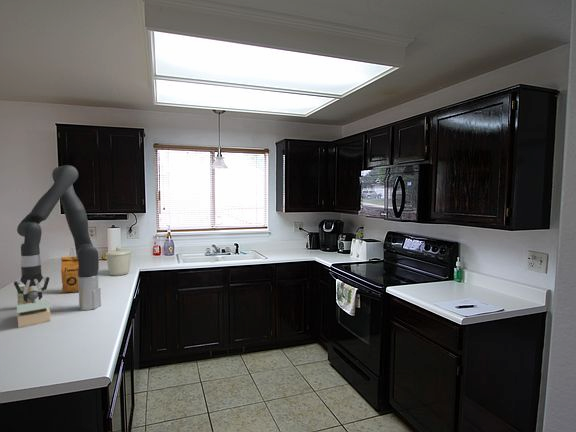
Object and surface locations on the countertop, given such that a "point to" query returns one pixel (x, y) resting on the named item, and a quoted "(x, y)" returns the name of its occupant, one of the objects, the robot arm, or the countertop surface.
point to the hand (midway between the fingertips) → (33, 300)
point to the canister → (118, 261)
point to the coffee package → (69, 274)
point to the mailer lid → (32, 303)
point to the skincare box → (20, 296)
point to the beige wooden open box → (33, 317)
